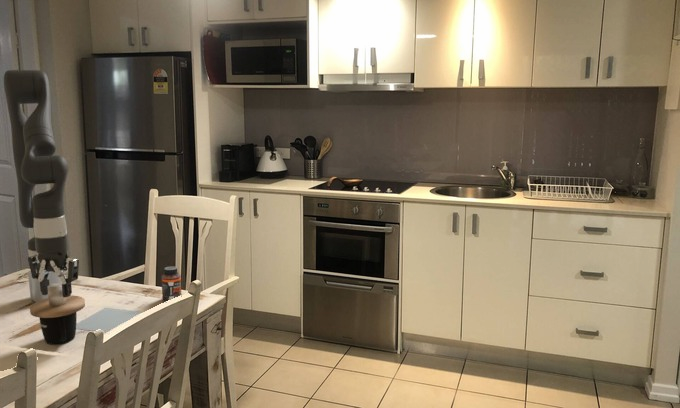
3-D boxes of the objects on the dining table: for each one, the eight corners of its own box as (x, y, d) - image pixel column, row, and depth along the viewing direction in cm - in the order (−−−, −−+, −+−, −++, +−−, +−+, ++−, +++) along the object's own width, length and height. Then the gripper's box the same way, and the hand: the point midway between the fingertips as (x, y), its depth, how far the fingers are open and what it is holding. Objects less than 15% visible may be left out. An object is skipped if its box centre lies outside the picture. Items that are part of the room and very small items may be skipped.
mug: (39, 339, 154) (36, 304, 152) (75, 332, 159) (72, 298, 157) (45, 356, 144) (42, 319, 142) (83, 348, 149) (80, 311, 147)
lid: (18, 315, 144) (15, 292, 143) (54, 297, 157) (52, 276, 156) (62, 319, 142) (60, 296, 140) (95, 301, 154) (93, 280, 153)
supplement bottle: (176, 305, 179) (174, 271, 177) (159, 304, 180) (157, 270, 178) (185, 299, 185) (183, 265, 183) (168, 297, 186) (166, 264, 184)
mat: (69, 330, 160) (69, 327, 160) (105, 310, 175) (105, 307, 175) (118, 336, 156) (118, 333, 156) (151, 315, 171) (151, 312, 171)
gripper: (16, 234, 143) (22, 297, 147) (64, 238, 140) (70, 303, 143) (38, 228, 151) (44, 288, 154) (84, 231, 147) (89, 293, 150)
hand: (56, 295), depth 149 cm, fingers open, 6 cm apart
